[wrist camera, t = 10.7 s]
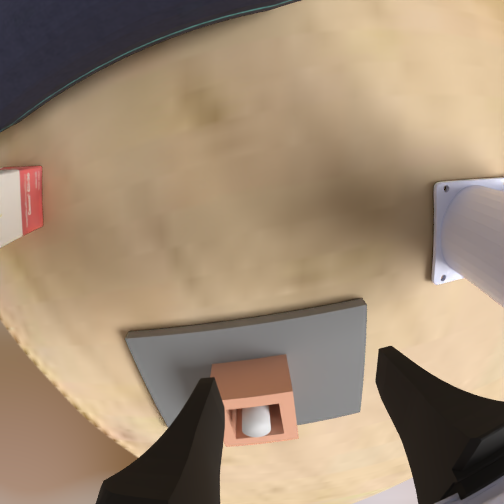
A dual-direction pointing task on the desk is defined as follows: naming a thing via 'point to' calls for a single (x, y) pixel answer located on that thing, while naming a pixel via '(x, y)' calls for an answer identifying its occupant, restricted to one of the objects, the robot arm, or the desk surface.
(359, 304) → the post base
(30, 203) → the ink cartridge box
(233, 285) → the desk surface
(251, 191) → the desk surface
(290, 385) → the collar
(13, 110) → the portable speaker
